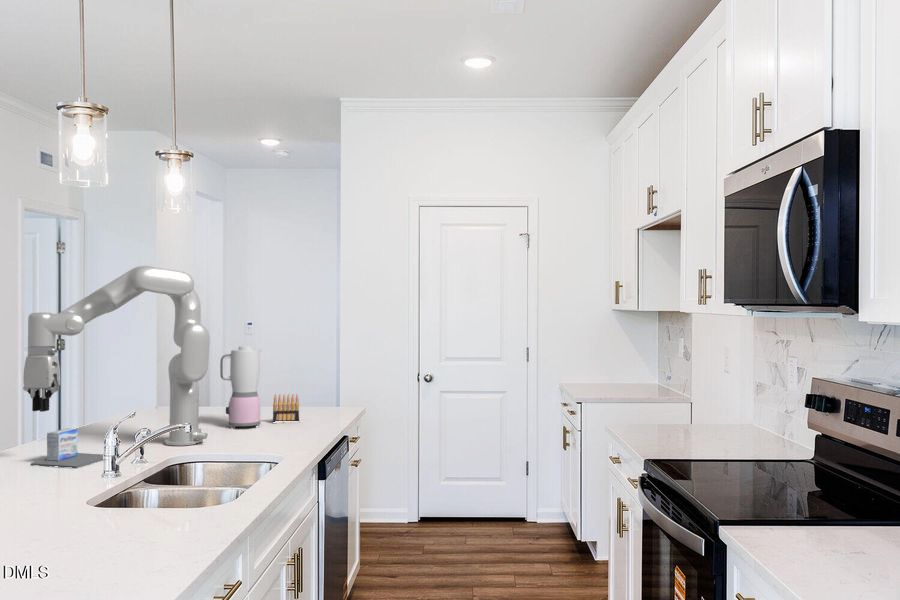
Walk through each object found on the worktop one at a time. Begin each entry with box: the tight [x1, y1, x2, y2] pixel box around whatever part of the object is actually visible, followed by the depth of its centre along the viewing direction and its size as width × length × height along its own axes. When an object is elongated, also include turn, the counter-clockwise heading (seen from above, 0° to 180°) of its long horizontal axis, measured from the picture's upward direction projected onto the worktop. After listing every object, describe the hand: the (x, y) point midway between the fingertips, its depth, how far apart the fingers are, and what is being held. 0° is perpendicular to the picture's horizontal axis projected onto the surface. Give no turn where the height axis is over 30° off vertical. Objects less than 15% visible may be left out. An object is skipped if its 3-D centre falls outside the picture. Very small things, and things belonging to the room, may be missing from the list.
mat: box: [30, 452, 104, 469], centre depth 215 cm, size 16×16×1 cm
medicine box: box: [46, 427, 79, 461], centre depth 216 cm, size 8×4×9 cm, turn 167°
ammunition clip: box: [272, 393, 300, 423], centre depth 289 cm, size 11×2×12 cm, turn 101°
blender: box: [219, 345, 262, 429], centre depth 278 cm, size 16×12×32 cm
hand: (40, 410), depth 218 cm, fingers closed
